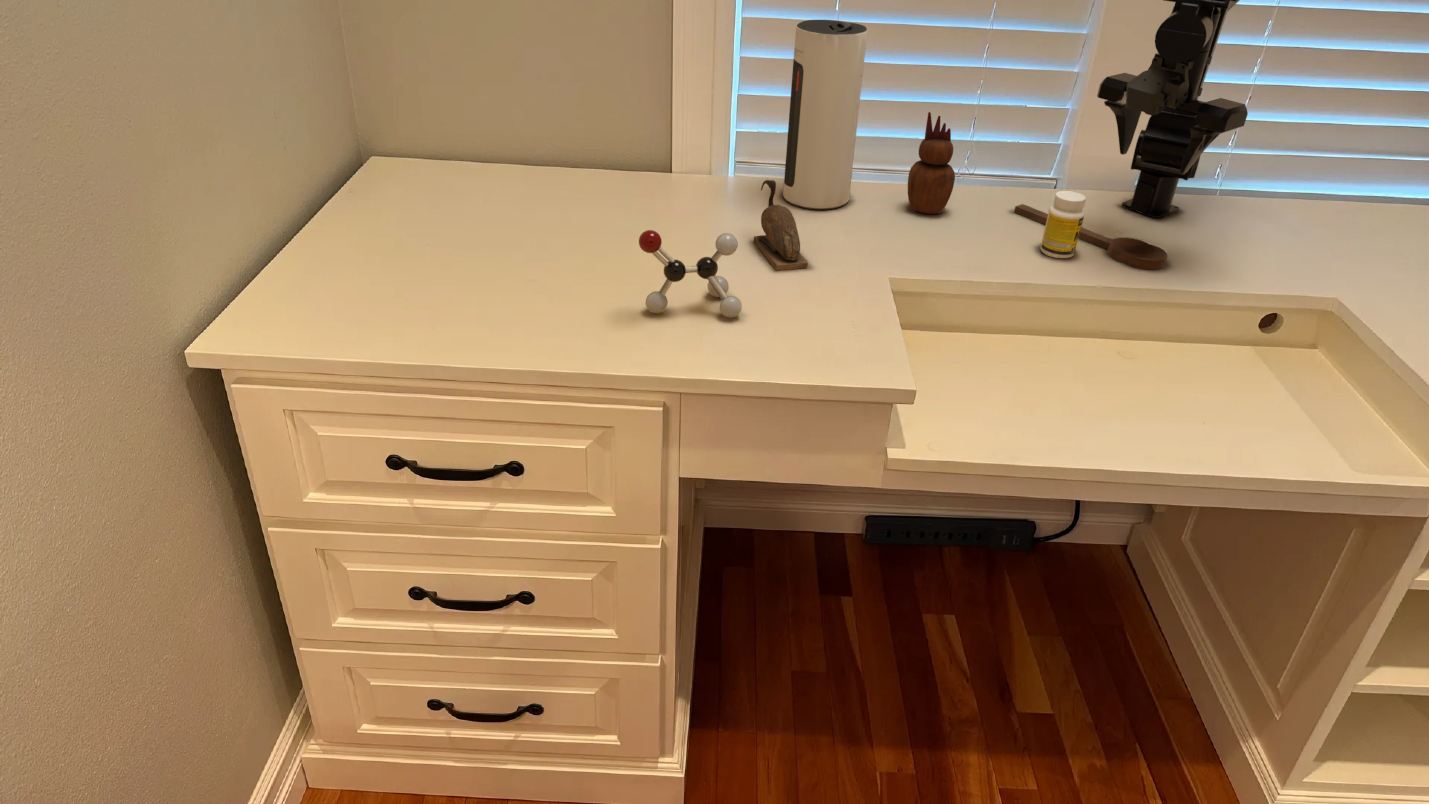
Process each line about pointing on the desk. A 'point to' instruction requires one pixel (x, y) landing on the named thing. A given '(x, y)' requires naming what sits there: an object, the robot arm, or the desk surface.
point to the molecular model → (704, 269)
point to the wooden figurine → (932, 171)
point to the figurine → (779, 235)
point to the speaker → (823, 112)
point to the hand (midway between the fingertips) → (1152, 163)
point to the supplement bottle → (1063, 225)
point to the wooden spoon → (1112, 244)
